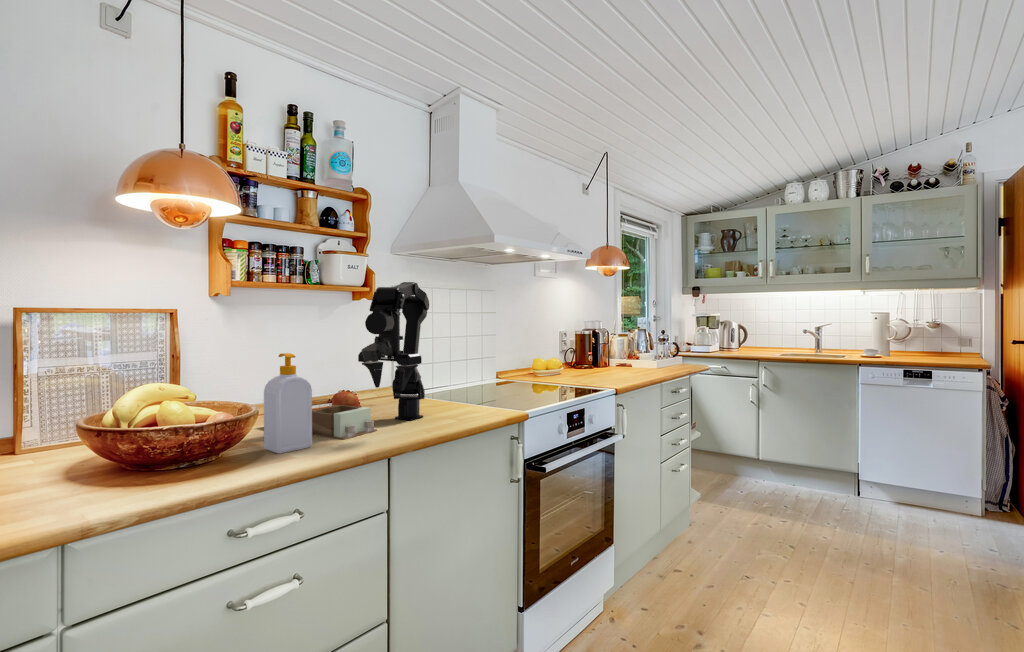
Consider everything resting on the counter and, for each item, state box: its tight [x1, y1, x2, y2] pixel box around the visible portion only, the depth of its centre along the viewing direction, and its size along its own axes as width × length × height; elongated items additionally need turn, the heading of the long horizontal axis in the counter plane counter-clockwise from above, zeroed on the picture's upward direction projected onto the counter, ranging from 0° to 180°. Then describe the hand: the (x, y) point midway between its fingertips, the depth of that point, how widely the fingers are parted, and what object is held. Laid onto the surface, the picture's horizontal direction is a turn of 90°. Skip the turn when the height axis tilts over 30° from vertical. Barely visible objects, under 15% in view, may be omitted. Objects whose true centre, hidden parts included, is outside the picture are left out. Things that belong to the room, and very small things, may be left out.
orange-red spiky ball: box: [331, 391, 360, 407], centre depth 167 cm, size 8×8×8 cm
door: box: [334, 406, 372, 437], centre depth 144 cm, size 11×2×6 cm, turn 151°
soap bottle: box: [263, 352, 313, 455], centre depth 128 cm, size 9×7×23 cm
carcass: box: [312, 405, 378, 441], centre depth 146 cm, size 12×14×6 cm
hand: (389, 388), depth 147 cm, fingers open, 9 cm apart
